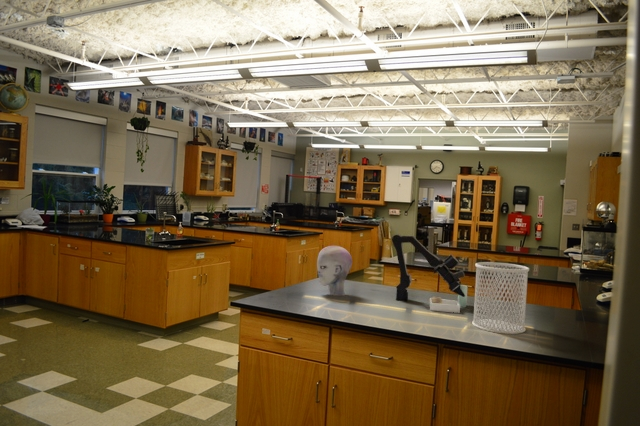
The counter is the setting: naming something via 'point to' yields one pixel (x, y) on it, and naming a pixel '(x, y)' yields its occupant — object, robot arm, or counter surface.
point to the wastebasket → (496, 323)
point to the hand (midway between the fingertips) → (464, 295)
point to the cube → (437, 300)
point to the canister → (462, 299)
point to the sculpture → (334, 268)
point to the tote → (445, 306)
